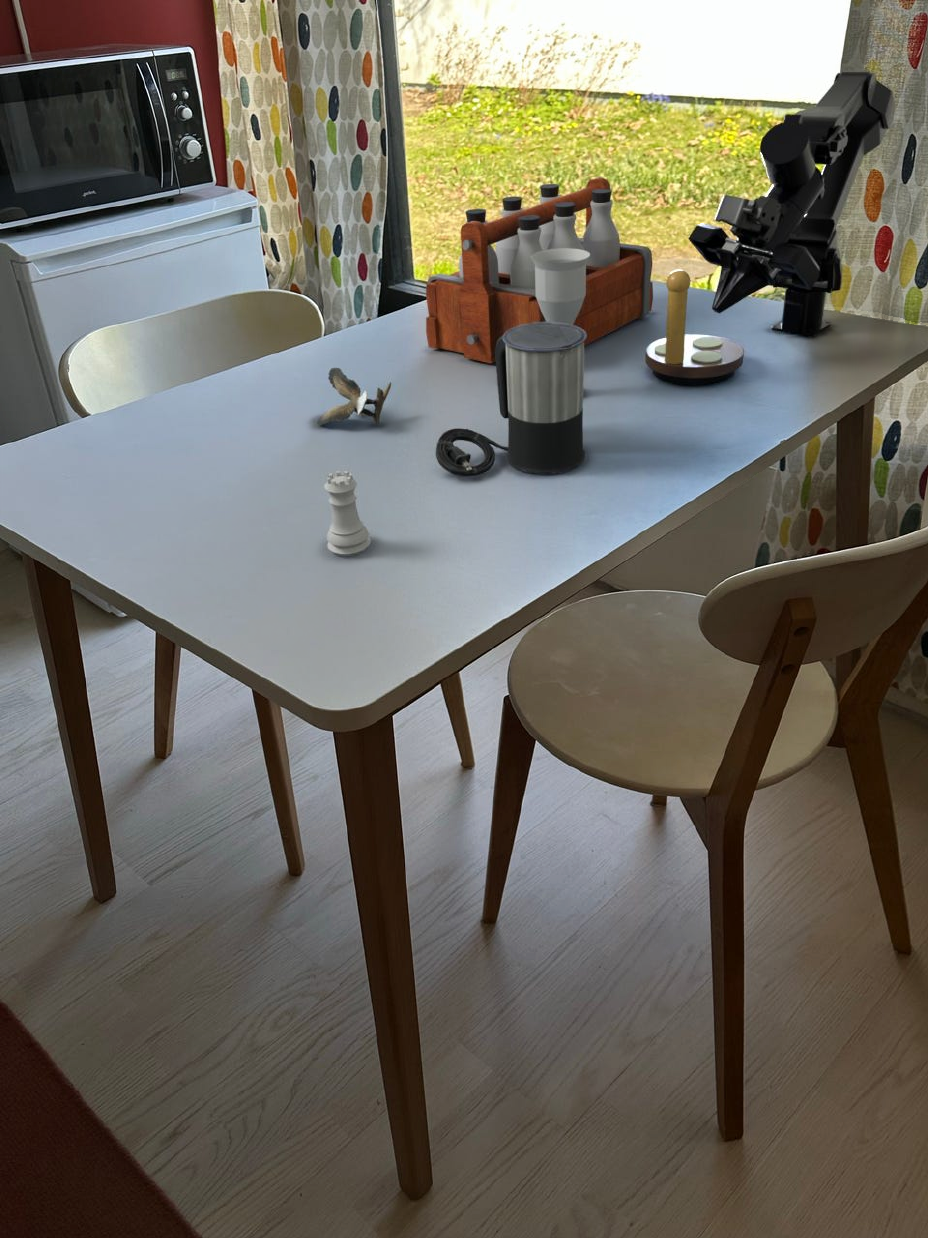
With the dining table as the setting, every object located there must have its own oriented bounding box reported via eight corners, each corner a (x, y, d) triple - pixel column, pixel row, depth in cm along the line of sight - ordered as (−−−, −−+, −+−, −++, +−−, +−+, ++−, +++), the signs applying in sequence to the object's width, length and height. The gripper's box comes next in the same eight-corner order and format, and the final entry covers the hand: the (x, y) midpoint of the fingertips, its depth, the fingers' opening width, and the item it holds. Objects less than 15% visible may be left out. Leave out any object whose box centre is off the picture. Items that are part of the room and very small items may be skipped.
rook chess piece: (328, 538, 108) (317, 468, 103) (371, 534, 108) (362, 464, 103) (327, 560, 104) (316, 488, 100) (371, 555, 104) (362, 484, 100)
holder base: (679, 352, 148) (680, 344, 147) (749, 367, 141) (750, 358, 141) (636, 375, 141) (636, 367, 140) (707, 392, 135) (708, 383, 134)
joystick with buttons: (746, 346, 144) (756, 248, 136) (738, 380, 133) (748, 276, 126) (653, 342, 147) (657, 246, 140) (638, 375, 137) (641, 273, 130)
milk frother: (602, 455, 120) (604, 330, 112) (511, 505, 112) (506, 372, 103) (512, 426, 129) (508, 308, 121) (421, 470, 120) (409, 345, 112)
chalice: (588, 384, 139) (590, 247, 129) (589, 403, 134) (590, 261, 124) (534, 385, 140) (531, 249, 130) (532, 404, 135) (529, 263, 125)
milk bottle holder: (416, 354, 154) (404, 218, 143) (552, 292, 176) (551, 170, 165) (530, 380, 142) (526, 234, 131) (661, 310, 164) (667, 180, 153)
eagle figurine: (396, 400, 136) (333, 384, 137) (388, 368, 129) (322, 351, 131) (376, 448, 133) (311, 432, 135) (367, 418, 126) (300, 401, 128)
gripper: (703, 158, 135) (636, 261, 137) (815, 177, 122) (740, 291, 123) (741, 211, 143) (677, 308, 144) (851, 234, 130) (779, 340, 131)
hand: (715, 310), depth 136 cm, fingers closed
